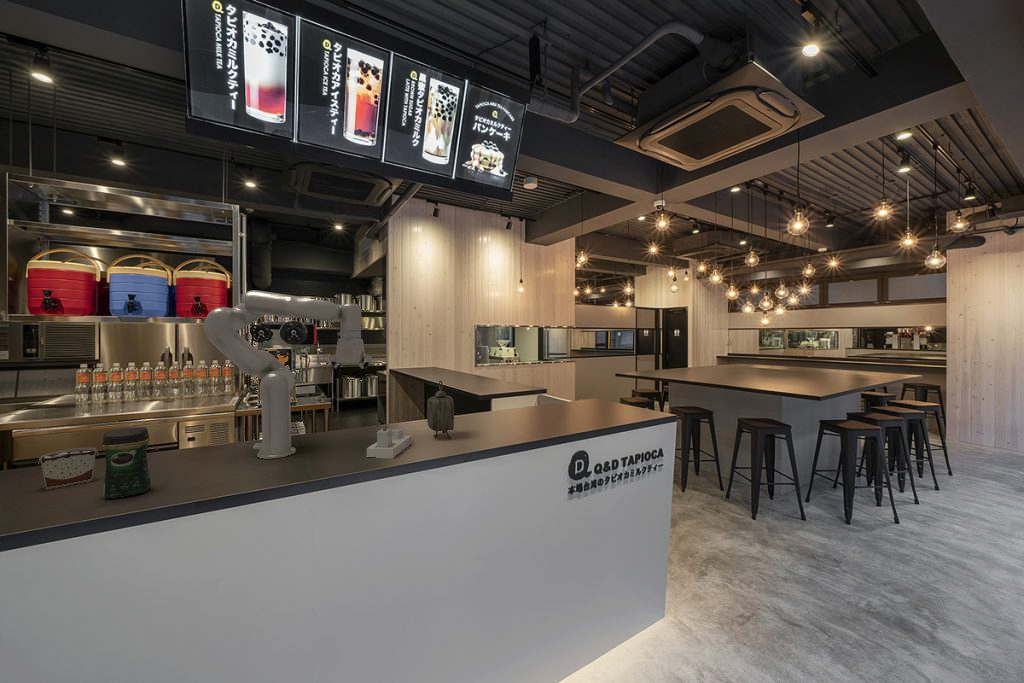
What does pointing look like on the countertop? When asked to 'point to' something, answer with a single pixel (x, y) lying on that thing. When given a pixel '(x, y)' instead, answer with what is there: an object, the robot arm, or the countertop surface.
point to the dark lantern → (440, 412)
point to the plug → (384, 438)
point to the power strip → (397, 446)
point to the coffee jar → (126, 462)
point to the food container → (68, 466)
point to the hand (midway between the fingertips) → (350, 378)
